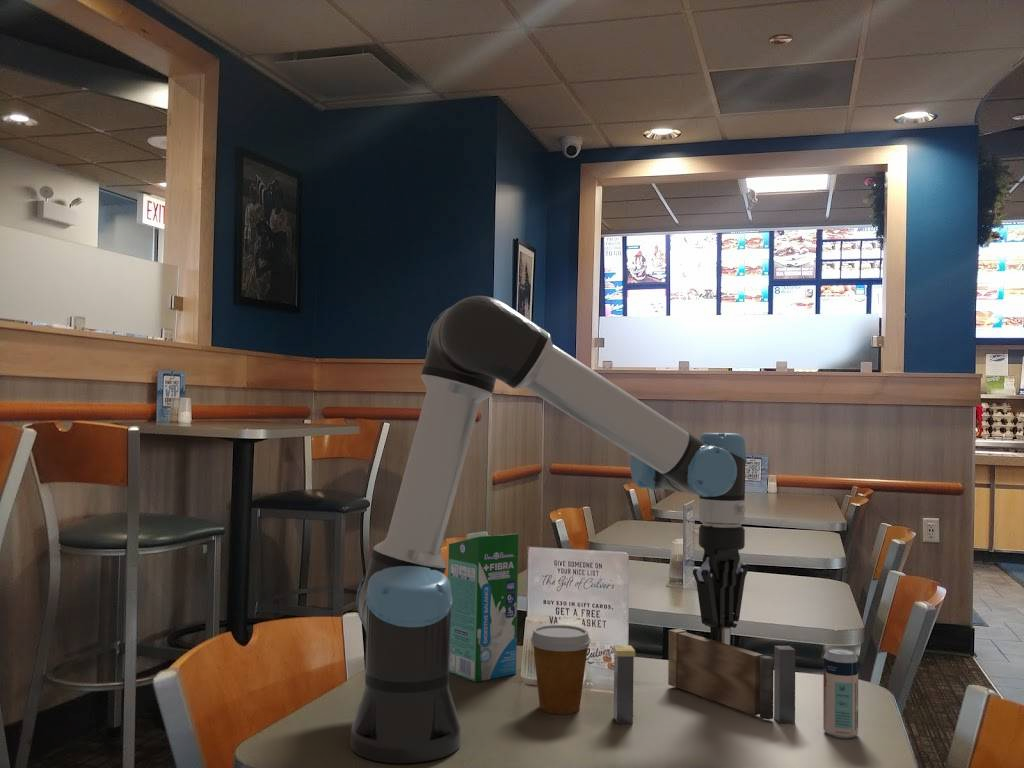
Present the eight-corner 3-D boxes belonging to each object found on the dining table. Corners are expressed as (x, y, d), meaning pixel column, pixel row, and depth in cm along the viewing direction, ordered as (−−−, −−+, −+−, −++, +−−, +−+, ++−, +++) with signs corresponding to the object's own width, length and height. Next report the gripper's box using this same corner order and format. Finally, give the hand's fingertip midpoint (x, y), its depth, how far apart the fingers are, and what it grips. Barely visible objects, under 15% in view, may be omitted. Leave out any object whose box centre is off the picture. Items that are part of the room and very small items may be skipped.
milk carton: (485, 663, 167) (487, 527, 168) (516, 674, 160) (519, 532, 161) (445, 671, 162) (448, 530, 163) (476, 682, 155) (479, 536, 156)
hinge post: (779, 723, 136) (779, 649, 137) (774, 718, 139) (774, 645, 139) (795, 723, 136) (795, 649, 137) (789, 718, 139) (789, 645, 139)
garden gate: (776, 717, 137) (777, 656, 137) (766, 720, 136) (766, 658, 136) (678, 682, 155) (679, 628, 155) (668, 684, 154) (668, 630, 154)
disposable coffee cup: (586, 720, 136) (587, 639, 137) (524, 715, 138) (525, 635, 138) (593, 701, 145) (594, 626, 146) (535, 696, 147) (536, 622, 148)
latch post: (615, 724, 134) (616, 651, 135) (612, 716, 138) (612, 645, 138) (634, 724, 134) (635, 651, 135) (630, 716, 138) (631, 645, 138)
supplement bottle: (842, 727, 135) (842, 646, 135) (865, 737, 130) (865, 654, 131) (816, 730, 133) (816, 648, 134) (838, 741, 129) (839, 656, 129)
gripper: (717, 529, 144) (716, 678, 143) (762, 524, 153) (761, 665, 152) (679, 524, 150) (677, 668, 149) (725, 520, 159) (723, 656, 158)
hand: (720, 666), depth 150 cm, fingers closed
